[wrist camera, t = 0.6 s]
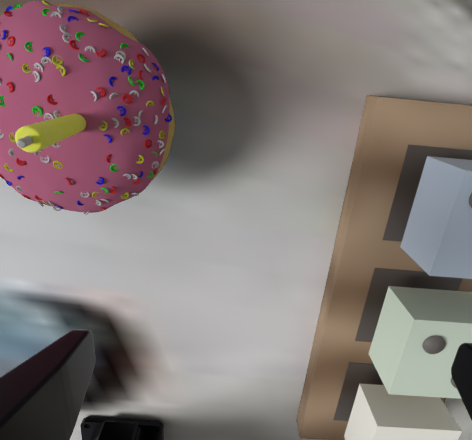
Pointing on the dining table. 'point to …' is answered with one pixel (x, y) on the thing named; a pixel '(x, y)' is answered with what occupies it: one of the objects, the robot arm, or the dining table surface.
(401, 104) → the wooden plank tray
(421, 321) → the tile two
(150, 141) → the cupcake
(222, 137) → the dining table surface
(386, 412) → the tile one
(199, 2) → the dining table surface
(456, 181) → the tile three
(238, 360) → the dining table surface
